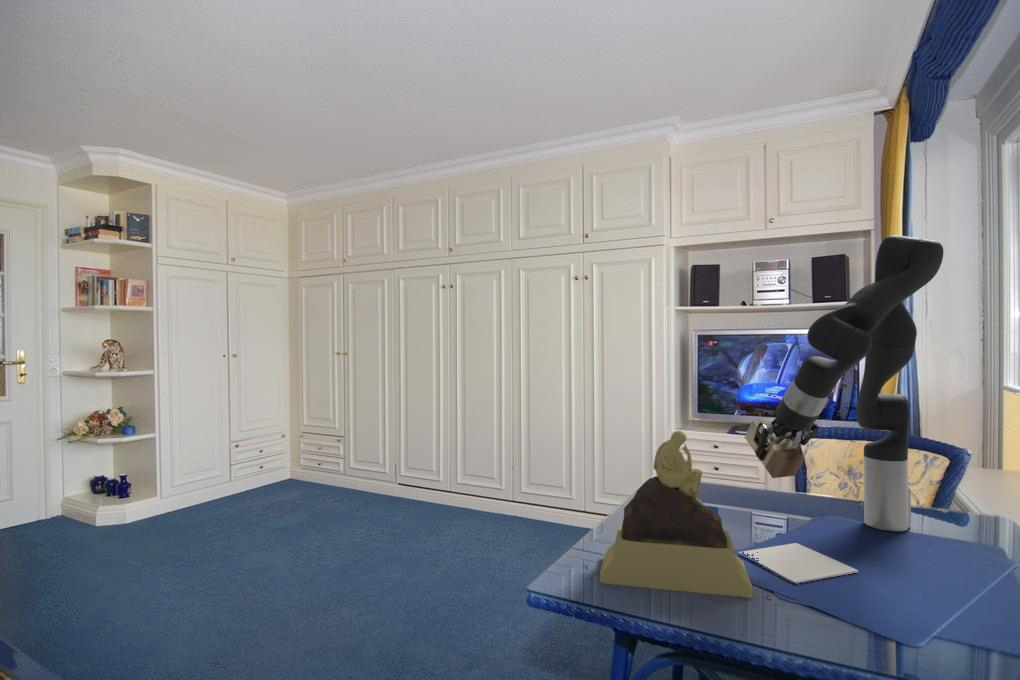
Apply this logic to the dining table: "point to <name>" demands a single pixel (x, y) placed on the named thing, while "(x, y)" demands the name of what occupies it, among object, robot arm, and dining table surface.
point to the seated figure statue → (674, 535)
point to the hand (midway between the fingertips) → (771, 456)
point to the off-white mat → (799, 563)
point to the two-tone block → (777, 453)
